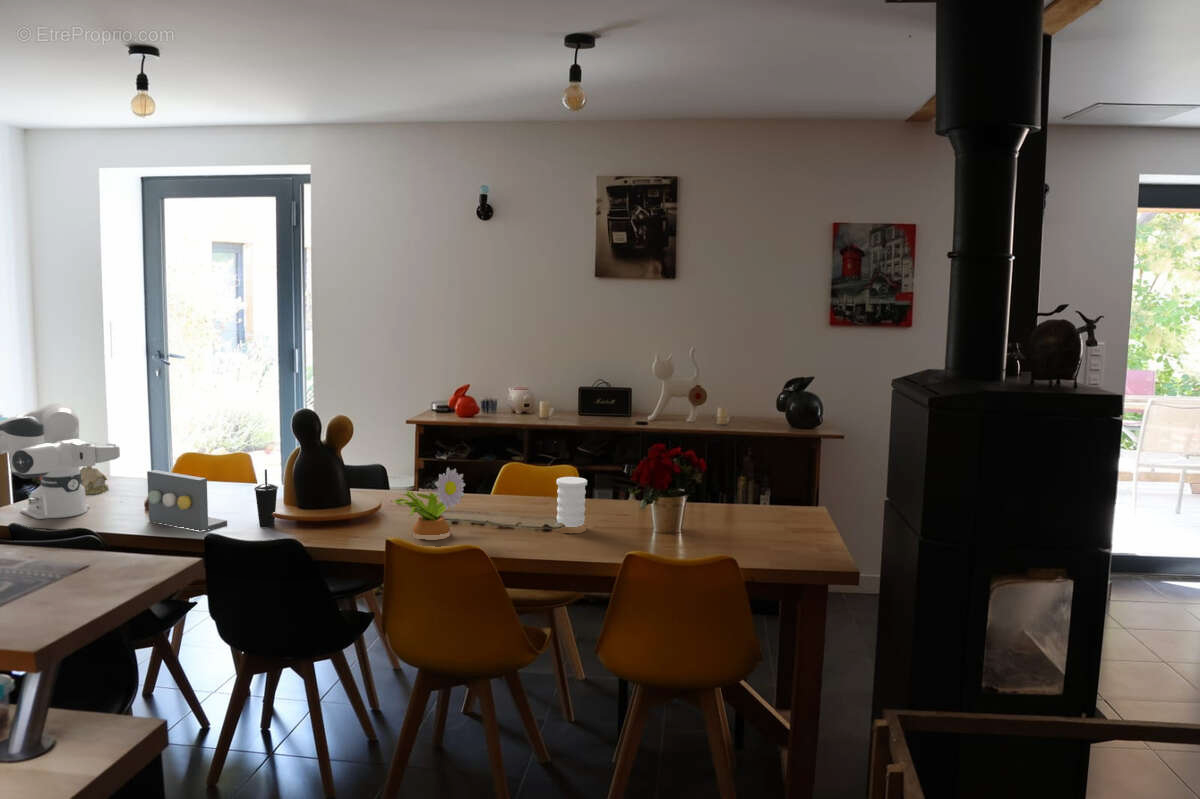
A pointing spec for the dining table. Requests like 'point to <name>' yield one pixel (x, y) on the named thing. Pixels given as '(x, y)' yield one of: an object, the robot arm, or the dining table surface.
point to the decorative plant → (430, 515)
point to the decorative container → (571, 501)
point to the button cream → (169, 499)
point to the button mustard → (184, 502)
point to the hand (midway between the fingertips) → (113, 446)
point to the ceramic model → (93, 480)
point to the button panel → (180, 487)
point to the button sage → (155, 496)
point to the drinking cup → (266, 503)
